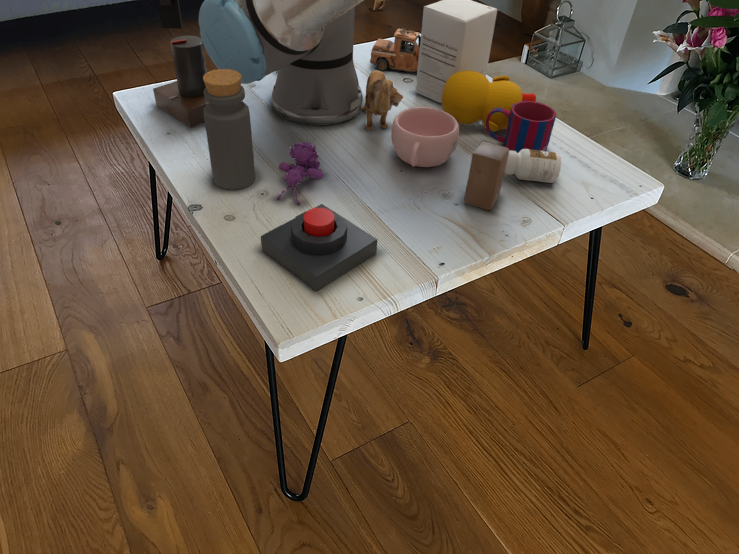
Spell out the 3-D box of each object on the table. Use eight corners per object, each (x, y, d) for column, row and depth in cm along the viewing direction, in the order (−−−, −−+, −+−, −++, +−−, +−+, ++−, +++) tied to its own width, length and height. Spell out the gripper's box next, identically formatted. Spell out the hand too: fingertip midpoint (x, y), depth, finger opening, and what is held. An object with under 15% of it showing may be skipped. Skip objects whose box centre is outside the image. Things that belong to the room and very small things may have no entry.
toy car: (372, 58, 119) (374, 22, 114) (433, 64, 118) (437, 28, 114) (368, 71, 114) (370, 34, 109) (432, 77, 113) (436, 40, 109)
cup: (541, 166, 92) (553, 125, 87) (477, 151, 94) (485, 111, 90) (548, 145, 97) (559, 106, 92) (486, 132, 99) (494, 93, 94)
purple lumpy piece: (332, 142, 84) (312, 163, 78) (330, 184, 88) (310, 207, 81) (287, 133, 85) (264, 153, 79) (287, 175, 89) (264, 197, 82)
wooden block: (462, 203, 84) (472, 152, 78) (472, 189, 86) (481, 139, 81) (490, 212, 82) (501, 161, 77) (499, 197, 85) (510, 147, 80)
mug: (399, 135, 97) (402, 100, 93) (460, 147, 95) (466, 113, 91) (377, 173, 88) (379, 137, 84) (444, 188, 86) (449, 151, 82)
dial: (203, 82, 101) (196, 31, 95) (213, 93, 98) (206, 42, 92) (174, 87, 99) (165, 36, 93) (184, 99, 96) (175, 47, 90)
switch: (297, 227, 72) (297, 215, 71) (320, 215, 74) (320, 203, 73) (318, 241, 70) (318, 229, 69) (340, 228, 72) (340, 217, 71)
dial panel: (156, 105, 100) (152, 87, 98) (202, 90, 105) (199, 72, 103) (190, 128, 95) (187, 109, 93) (237, 110, 100) (235, 92, 98)
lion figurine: (401, 139, 96) (406, 85, 90) (368, 141, 95) (371, 86, 89) (382, 97, 106) (385, 46, 100) (352, 98, 106) (353, 47, 99)
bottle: (220, 194, 82) (206, 89, 72) (208, 172, 86) (192, 70, 76) (261, 184, 85) (252, 82, 75) (247, 163, 88) (237, 63, 78)
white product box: (445, 78, 113) (456, -7, 103) (483, 94, 109) (500, 8, 99) (413, 92, 108) (422, 4, 98) (452, 110, 104) (466, 20, 94)
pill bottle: (564, 151, 85) (510, 144, 85) (559, 182, 86) (505, 176, 85) (553, 154, 90) (502, 148, 89) (549, 184, 90) (498, 178, 90)
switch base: (261, 249, 74) (259, 223, 72) (321, 217, 80) (321, 191, 77) (316, 291, 69) (316, 264, 67) (376, 253, 75) (378, 227, 72)
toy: (533, 93, 102) (446, 75, 103) (545, 74, 94) (450, 55, 94) (521, 145, 102) (434, 127, 103) (533, 131, 93) (437, 111, 94)
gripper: (150, -179, 85) (175, -17, 99) (91, -154, 66) (134, 41, 80) (204, -176, 85) (222, -15, 99) (161, -150, 66) (191, 43, 81)
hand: (182, 10), depth 90 cm, fingers open, 13 cm apart
